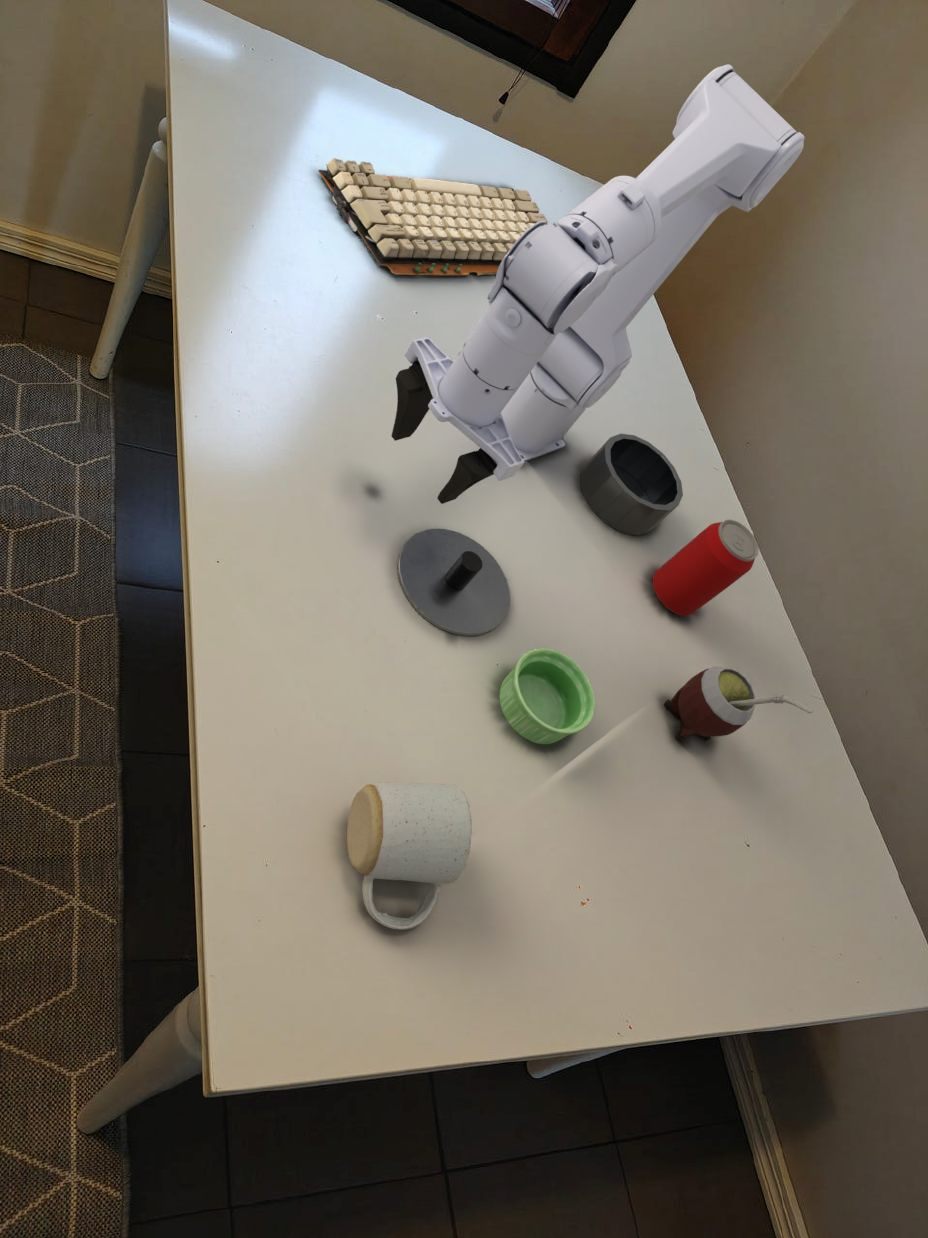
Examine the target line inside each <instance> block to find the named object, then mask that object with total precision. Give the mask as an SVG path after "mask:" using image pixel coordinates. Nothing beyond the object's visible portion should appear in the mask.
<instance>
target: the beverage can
mask: <svg viewBox="0 0 928 1238" xmlns="http://www.w3.org/2000/svg"><path fill="white" fill-rule="evenodd" d="M758 556H759V545H758V541H757V539H756V538H755V536H754V535H753V533H752V532H751V531H750V530H749V529H748V528H747V527H746V526H745V525H743V524H742V523H740V522H739V521H737V520H734V519H726V520H724V521H719V522H718V521H717V522H714V523H711V524H709V525H708V526H707V527H705V529H704V530H702V531H700V532H699V533H698V534H697V535H696V536H695V537H694V538H692V539H691V540H690V541H689V542H688V543H686V545H684V546H683V547H682V548H681V549H679V551H677V552H676V553H675V554H674V555H673V556H672V557H670V558H669V559H668V560H667V561H666V562H664V564H662V565H661V566H660V567H659V568H658V569H657V570H656V571H655V572H654V573H653V577H652V588H653V590H654V593H655V595H656V597H657V599H658V601H659V602H660V603H661V604H662V605H663V606H664V607H665V608H666V609H667V610H669V611H671V612H673V613H674V614H677V615H679V616H690V615H693V614H694V613H695V612H697V611H698V610H699V609H701V608H702V607H703V606H705V605H706V604H708V603H709V602H710V601H712V600H713V599H714V598H715V597H717V596H718V595H720V594H721V593H722V592H724V591H725V590H727V589H728V588H729V587H731V585H733V584H734V583H736V582H737V581H738V580H739V579H741V578H742V577H743V576H744V575H746V574H747V573H749V572H750V570H751V569H752V568H753V566H754V563H755V560H756V558H757V557H758Z"/></svg>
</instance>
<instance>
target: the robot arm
mask: <svg viewBox="0 0 928 1238" xmlns="http://www.w3.org/2000/svg"><path fill="white" fill-rule="evenodd" d="M675 123H676V124H675V126H674V128H673V130H672V136H673V139H674V140H673V141H672V142H671V143H670V144H669V145H668V146H667V147H666V148H665V149H664V150H663V151H662V152H660V153H659V155H657V156H656V158H655V159H653V161H651V163H649V165H648V166H646V167H645V169H643V170H642V171H641V172H640V173H639V174H638V175H637V177H634V176H630V175H618V176H615V177H613V178H611V179H610V180H608V181H607V182H606V183H605V184H603V185H602V186H601V187H599V189H597V190H596V191H594V193H592V194H591V195H590V196H589V197H587V198H586V199H585V200H583V201H582V202H580V204H579V205H576V207H574V208H573V209H572V210H570V211H569V212H568V213H567V214H565V215H564V216H563V217H562V218H560V219H559V220H558V221H556V222H553V223H552V222H550V223H547V224H549V225H547V224H546V222H545V221H540V222H537V223H535V224H534V225H532V226H531V227H530V228H528V229H527V230H526V231H525V232H524V233H523V234H522V235H521V236H520V237H519V238H518V240H517V241H516V242H515V243H514V244H513V246H512V247H511V248H510V250H509V251H508V253H507V254H506V255H505V257H504V258H503V260H502V262H501V264H500V266H499V268H498V271H497V274H495V275H496V276H495V280H494V282H493V283H494V284H493V285H492V286H491V289H490V290H489V292H488V294H487V297H486V299H487V300H488V301H487V302H488V303H489V304H488V305H487V307H486V309H485V310H484V311H483V313H482V315H481V317H480V318H479V320H478V321H477V323H476V324H475V326H474V328H473V329H472V331H471V333H470V334H469V335H468V337H467V339H466V340H465V342H464V344H463V345H462V347H461V349H460V350H459V352H458V353H457V355H456V356H455V358H454V359H452V358H450V356H449V355H448V354H446V353H445V352H444V351H442V350H441V348H439V347H438V346H437V344H435V343H434V341H433V340H432V339H431V338H430V337H429V336H426V337H421V338H417V339H413V340H412V341H411V343H410V344H409V347H408V348H407V350H406V351H405V353H404V357H405V358H406V360H407V361H408V362H409V363H410V364H411V365H409V366H408V368H405V369H401V370H399V371H398V373H397V374H396V377H395V384H396V390H397V391H396V392H397V405H396V411H395V419H394V423H393V428H392V432H391V438H392V439H393V440H394V442H396V441H399V440H403V439H407V438H410V437H411V436H412V435H413V434H414V433H415V432H416V430H417V429H418V428H419V426H420V424H421V423H422V421H423V420H424V418H425V416H426V415H427V413H428V412H429V411H430V412H431V414H432V415H433V416H434V417H435V419H436V420H437V421H439V422H441V423H445V422H448V423H450V424H451V425H453V427H455V429H457V430H459V431H460V432H461V433H462V434H463V435H464V436H466V438H468V439H469V440H470V441H471V442H472V443H474V444H475V445H476V446H477V447H478V448H479V449H478V450H473V451H470V452H467V453H464V454H461V455H459V457H457V461H456V465H455V468H454V470H453V473H452V475H451V477H450V478H449V480H448V481H447V483H446V484H445V485H444V486H443V488H442V489H441V490H440V492H439V493H438V496H437V499H436V500H438V502H439V503H440V504H442V505H444V504H447V503H450V502H451V501H454V500H456V499H457V498H458V497H460V496H461V495H462V494H463V493H464V492H466V491H467V490H468V489H470V488H471V487H473V486H474V485H476V484H478V483H480V482H481V481H483V480H485V479H487V478H489V477H491V476H495V478H496V479H497V480H498V481H499V482H500V481H503V480H507V479H509V478H511V477H514V476H515V475H516V474H517V473H518V472H519V470H520V469H521V468H522V467H523V465H524V464H525V461H530V460H533V459H536V458H538V457H542V456H544V455H547V454H549V453H552V452H555V451H557V450H561V449H563V448H565V446H566V443H565V441H564V440H563V438H564V436H565V435H566V434H567V433H568V431H569V430H570V429H571V428H572V426H573V425H574V424H575V423H576V422H577V421H578V420H579V418H580V417H581V416H582V415H583V413H584V412H585V411H586V409H589V408H590V407H592V406H594V405H595V404H596V403H597V402H598V401H600V400H601V399H602V397H604V396H605V395H606V393H608V391H609V390H610V389H611V388H612V387H613V386H614V385H615V384H616V383H617V381H618V380H619V378H620V377H621V376H622V372H623V371H624V370H625V369H626V368H627V366H628V365H629V364H630V362H631V358H632V357H633V353H632V348H631V344H630V341H629V338H628V332H627V327H628V326H629V324H630V323H632V320H634V319H635V317H636V316H637V315H638V313H639V312H641V310H642V309H643V307H644V306H645V305H646V304H647V303H648V301H649V300H650V299H651V298H652V297H653V295H655V293H656V292H657V291H658V289H659V288H660V287H661V286H662V285H663V283H664V282H665V280H667V279H668V277H669V276H670V275H671V273H672V272H673V271H674V270H675V269H676V267H677V266H678V265H679V264H680V262H681V261H682V260H683V259H684V258H685V256H686V255H687V254H688V253H689V252H690V250H691V249H692V248H693V247H694V245H696V243H697V242H698V240H699V239H700V238H701V237H702V236H703V235H704V234H705V232H706V231H707V230H708V228H709V227H710V226H711V225H712V224H713V222H714V221H715V220H716V218H718V217H719V216H720V215H721V214H722V213H723V212H726V210H728V209H730V208H731V207H735V208H737V209H739V210H742V211H743V212H746V213H749V212H750V211H752V209H753V208H754V209H755V208H756V207H757V206H758V205H759V204H760V203H761V202H762V201H763V199H764V198H766V196H767V195H768V194H769V193H770V192H771V190H772V188H774V187H775V186H776V184H777V183H778V182H779V181H780V180H781V179H782V177H783V176H784V175H785V174H786V173H787V172H788V171H789V169H790V168H791V167H792V166H793V164H794V163H795V162H796V160H797V159H798V158H799V157H800V155H801V153H802V151H803V150H804V144H805V143H804V142H805V135H804V134H803V133H801V131H797V130H796V129H794V127H793V126H792V125H791V124H790V123H789V122H788V121H786V120H785V119H784V118H783V117H782V115H780V113H778V112H777V110H775V109H774V108H773V107H772V106H771V105H770V104H769V103H768V102H767V101H766V100H765V99H764V98H763V97H761V96H760V94H759V93H757V91H756V90H755V89H753V88H752V86H750V85H749V84H748V83H747V82H746V81H745V80H744V79H743V78H742V77H741V76H740V75H739V74H737V72H736V70H735V68H734V67H733V66H732V64H725V65H722V66H718V67H716V68H714V69H712V70H711V71H710V72H709V73H708V74H706V76H704V78H702V80H701V81H700V82H699V83H698V84H697V85H696V86H695V88H693V90H692V92H691V93H690V94H689V96H688V97H687V98H686V100H685V102H684V103H683V105H682V107H681V108H680V110H679V112H678V114H677V117H676V122H675ZM522 457H523V458H522Z"/></svg>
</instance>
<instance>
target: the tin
mask: <svg viewBox="0 0 928 1238" xmlns="http://www.w3.org/2000/svg"><path fill="white" fill-rule="evenodd" d="M681 480H682V479H681V478H680V476H679V474H678V471H677V470H676V467H675V466H674V465H673V463H672V462H671V461H670V460H669V458H668V457H667V456H666V455H665V454H664V453H663V452H662V451H661V450H660V449H658V448H657V447H656V446H655V445H653V444H652V443H651V442H649V441H647V440H645V439H643V438H642V437H639V436H637V435H635V434H628V433H618V434H615V435H613V436H611V437H609V438H608V439H607V440H606V441H605V442H604V444H603V445H602V446H601V447H600V448H599V449H598V450H597V452H596V453H594V454H593V456H592V457H591V458H590V459H589V460H588V462H587V463H586V464H585V465H584V467H583V469H582V470H581V473H580V479H579V481H580V482H579V483H580V489H581V492H582V495H583V497H584V499H585V501H586V503H587V504H588V506H589V507H590V509H591V510H592V511H593V512H594V513H595V514H596V516H597V517H599V519H601V520H602V522H604V523H605V524H607V525H608V526H610V527H611V528H613V529H614V530H616V531H619V532H620V533H623V534H626V535H630V536H641V535H646V534H647V533H649V532H650V531H652V530H653V529H655V528H656V527H657V526H659V524H660V523H662V522H663V520H665V519H666V518H667V517H668V516H669V515H670V514H672V512H673V511H674V510H675V509H677V508H678V507H679V506H680V504H681V501H682V498H683V496H684V493H683V485H682V483H683V482H682V481H681Z"/></svg>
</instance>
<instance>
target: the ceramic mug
mask: <svg viewBox="0 0 928 1238" xmlns="http://www.w3.org/2000/svg"><path fill="white" fill-rule="evenodd" d="M472 821H473V820H472V812H471V807H470V802H469V801H468V797H467V795H466V793H465V792H464V790H463V789H462V788H461V787H460V786H458V785H455V784H447V783H446V784H442V783H440V784H437V783H413V782H412V783H409V782H408V783H403V782H386V781H385V782H382V781H381V782H376V783H375V782H374V783H373V782H372V783H367V784H366V785H364V786H362V787H361V788H360V789H359V790H358V791H357V792H356V794H355V796H354V798H353V799H352V802H351V805H350V809H349V813H348V818H347V828H346V829H347V831H346V832H347V833H346V844H347V846H346V847H347V854H348V857H349V861H350V864H351V865H352V867H353V869H354V870H355V871H356V872H357V874H360V875H362V876H363V882H362V886H361V887H362V896H363V903H364V906H365V909H366V911H367V912H368V914H369V916H370V917H371V918H372V919H373V920H374V921H376V922H377V923H379V924H380V925H382V926H384V927H386V928H389V929H393V930H401V931H402V930H409V929H414V928H415V927H418V925H420V924H421V923H422V922H423V921H424V920H425V919H427V917H428V916H429V915H430V914H431V912H432V910H433V908H434V907H435V904H436V902H437V899H438V896H439V892H440V890H441V885H443V884H445V885H448V884H453V883H455V882H456V881H457V880H458V879H459V878H460V877H461V875H462V874H463V872H464V870H465V868H466V866H467V863H468V860H469V856H470V852H471V845H472V836H473V822H472ZM374 880H390V881H409V882H416V883H428V884H429V888H428V891H427V893H426V896H425V899H424V901H423V903H422V905H421V906H420V908H419V909H418V910H417V912H416V913H415V914H414V915H412V916H409V917H406V918H405V917H397V916H391V915H389V914H388V913H386V912H380V911H378V909H377V908H376V905H375V903H374V895H373V888H374V884H373V883H374Z"/></svg>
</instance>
